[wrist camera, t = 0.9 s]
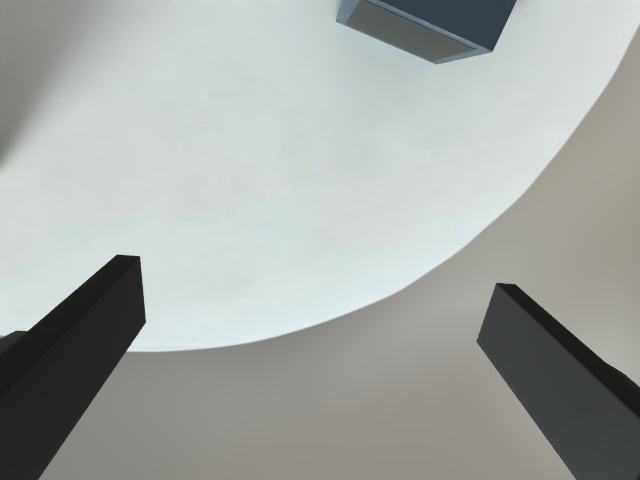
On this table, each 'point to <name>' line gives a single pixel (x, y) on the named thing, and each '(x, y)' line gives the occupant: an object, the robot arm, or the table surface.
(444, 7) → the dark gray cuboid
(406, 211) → the table surface
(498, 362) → the robot arm
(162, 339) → the table surface
